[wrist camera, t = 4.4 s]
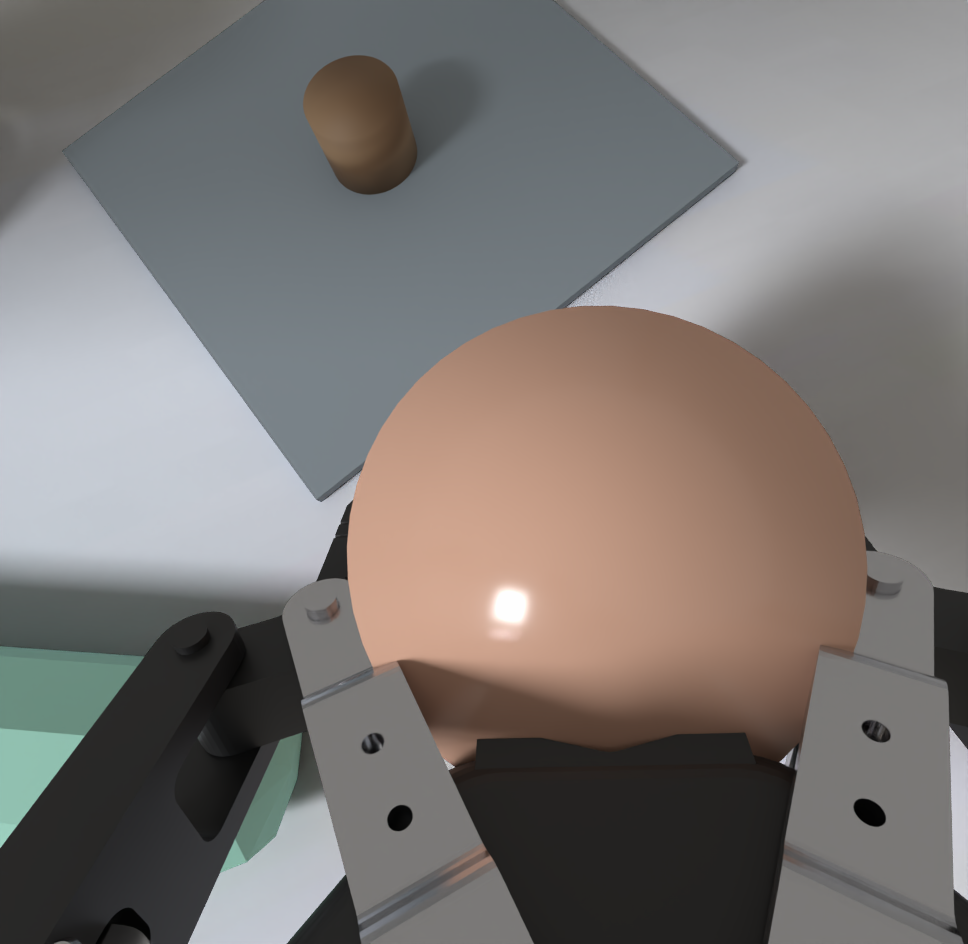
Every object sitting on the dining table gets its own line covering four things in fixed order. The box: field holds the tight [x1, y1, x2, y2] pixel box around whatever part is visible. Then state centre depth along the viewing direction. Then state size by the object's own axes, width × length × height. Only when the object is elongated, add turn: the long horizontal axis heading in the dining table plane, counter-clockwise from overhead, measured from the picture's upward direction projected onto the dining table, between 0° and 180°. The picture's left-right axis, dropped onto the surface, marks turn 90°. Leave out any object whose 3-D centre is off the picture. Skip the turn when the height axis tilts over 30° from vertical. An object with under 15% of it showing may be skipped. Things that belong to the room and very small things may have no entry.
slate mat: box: [62, 0, 739, 502], centre depth 21 cm, size 17×17×1 cm
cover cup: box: [347, 306, 867, 767], centre depth 12 cm, size 6×6×10 cm
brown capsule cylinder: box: [303, 55, 417, 195], centre depth 19 cm, size 3×3×2 cm
